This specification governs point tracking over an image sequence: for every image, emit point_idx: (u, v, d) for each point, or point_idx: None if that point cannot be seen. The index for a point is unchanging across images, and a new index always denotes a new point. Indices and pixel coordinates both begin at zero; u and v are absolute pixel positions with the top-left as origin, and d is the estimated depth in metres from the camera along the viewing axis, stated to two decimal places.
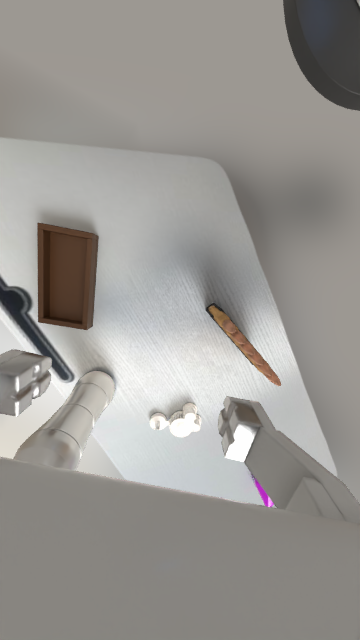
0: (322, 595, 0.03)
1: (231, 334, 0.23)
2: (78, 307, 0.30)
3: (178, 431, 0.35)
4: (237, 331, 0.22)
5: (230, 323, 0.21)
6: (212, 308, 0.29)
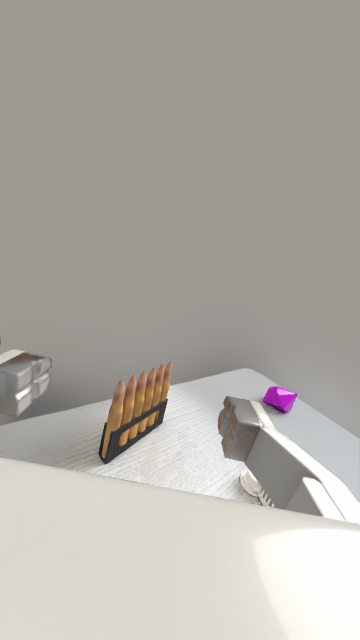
0: (322, 595, 0.03)
1: (129, 396, 0.23)
2: None
3: None
4: (126, 390, 0.23)
5: (115, 390, 0.22)
6: (104, 446, 0.24)
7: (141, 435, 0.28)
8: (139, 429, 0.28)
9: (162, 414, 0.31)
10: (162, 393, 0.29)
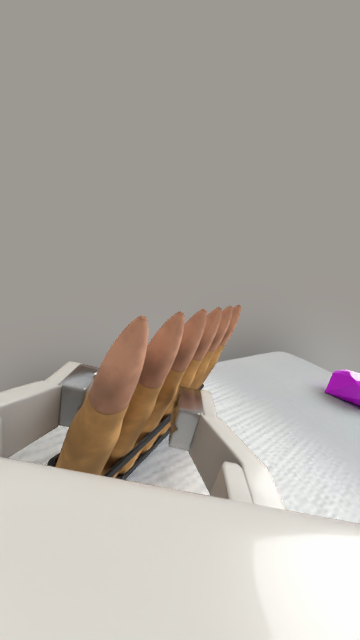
0: (322, 595, 0.03)
1: (149, 385, 0.06)
2: None
3: None
4: None
5: (104, 359, 0.05)
6: None
7: (144, 457, 0.12)
8: (142, 447, 0.12)
9: None
10: None
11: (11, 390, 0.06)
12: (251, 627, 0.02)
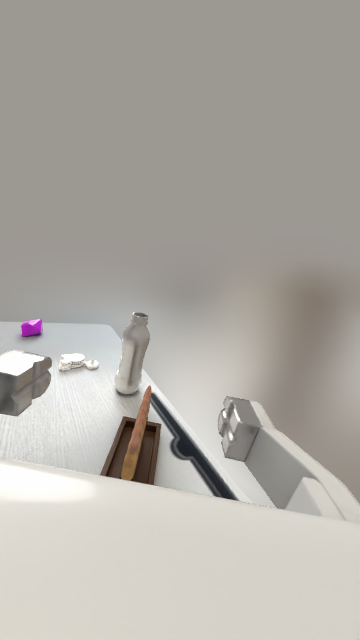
0: (322, 595, 0.03)
1: None
2: (129, 438, 0.34)
3: (79, 356, 0.52)
4: None
5: (131, 443, 0.22)
6: None
7: None
8: None
9: None
10: None
11: None
12: (251, 627, 0.02)
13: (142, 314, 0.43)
